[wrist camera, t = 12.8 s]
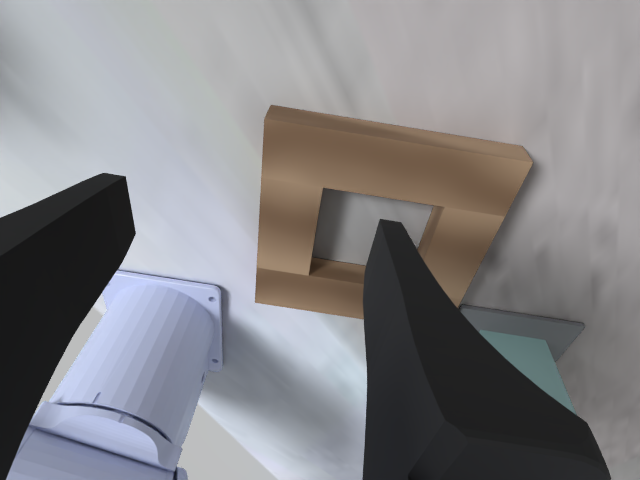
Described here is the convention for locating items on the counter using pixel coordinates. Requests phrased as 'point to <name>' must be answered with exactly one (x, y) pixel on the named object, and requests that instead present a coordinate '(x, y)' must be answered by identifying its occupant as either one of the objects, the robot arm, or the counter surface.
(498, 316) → the rubber mat
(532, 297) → the counter surface
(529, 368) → the peg
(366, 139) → the block
